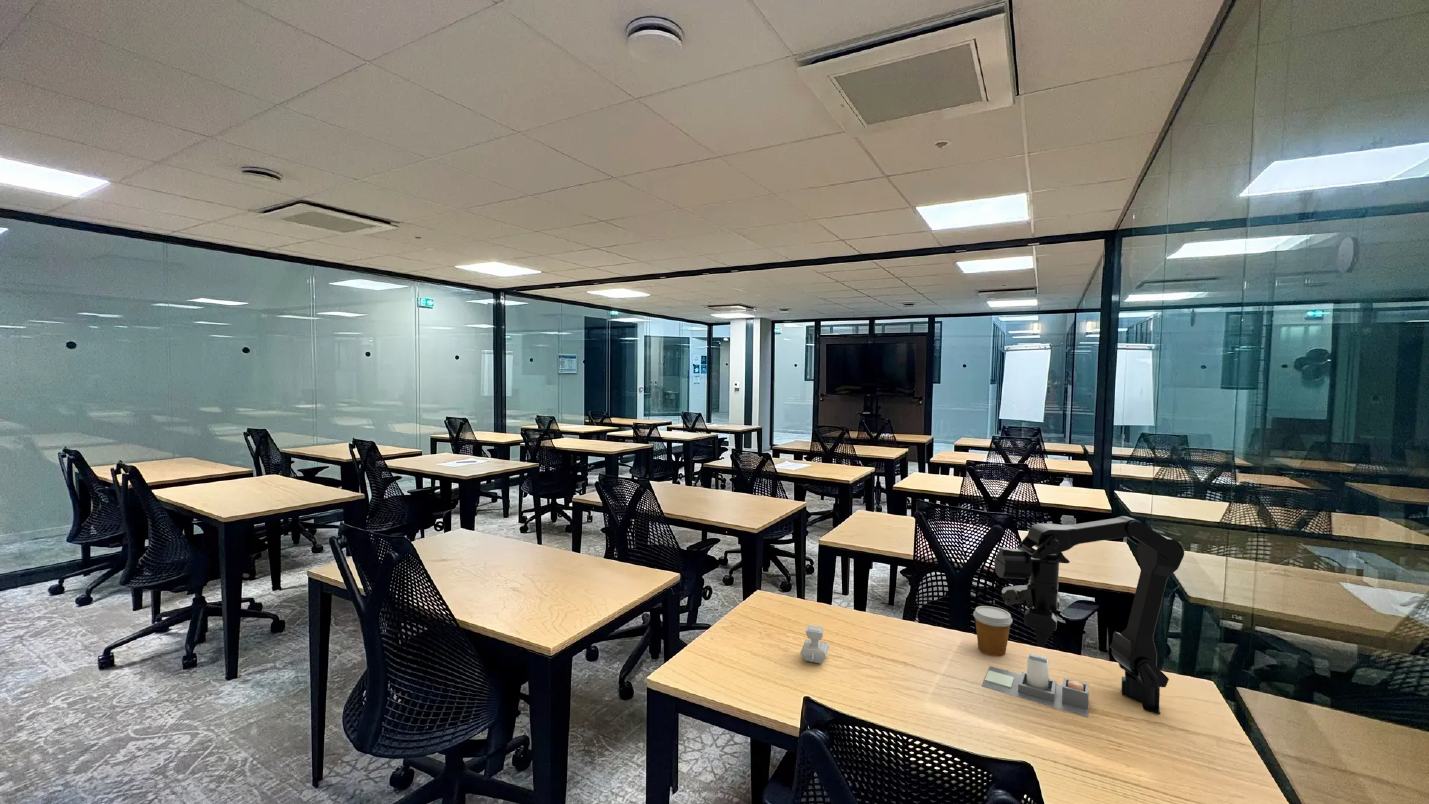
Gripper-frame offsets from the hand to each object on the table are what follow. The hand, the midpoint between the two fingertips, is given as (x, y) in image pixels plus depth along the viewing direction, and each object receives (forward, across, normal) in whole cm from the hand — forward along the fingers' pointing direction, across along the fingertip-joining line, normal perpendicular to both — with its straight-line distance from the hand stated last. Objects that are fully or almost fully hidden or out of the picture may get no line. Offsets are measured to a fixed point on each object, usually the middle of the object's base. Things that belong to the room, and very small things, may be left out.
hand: (1040, 645), depth 129 cm
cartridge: (+11, 0, 0) cm, 11 cm away
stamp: (+14, +14, -50) cm, 54 cm away
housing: (+12, 0, -1) cm, 12 cm away
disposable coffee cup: (+13, -17, -12) cm, 24 cm away
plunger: (+10, 0, +7) cm, 12 cm away
